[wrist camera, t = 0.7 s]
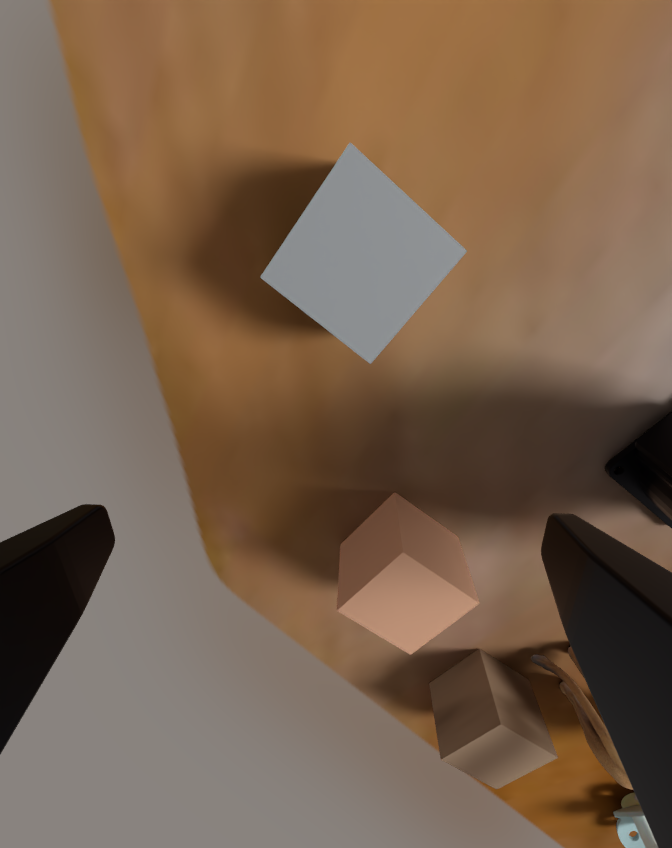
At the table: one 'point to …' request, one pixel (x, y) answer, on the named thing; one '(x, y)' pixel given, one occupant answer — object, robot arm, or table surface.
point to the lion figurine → (588, 721)
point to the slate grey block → (362, 256)
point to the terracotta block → (404, 576)
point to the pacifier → (633, 824)
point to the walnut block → (489, 721)
